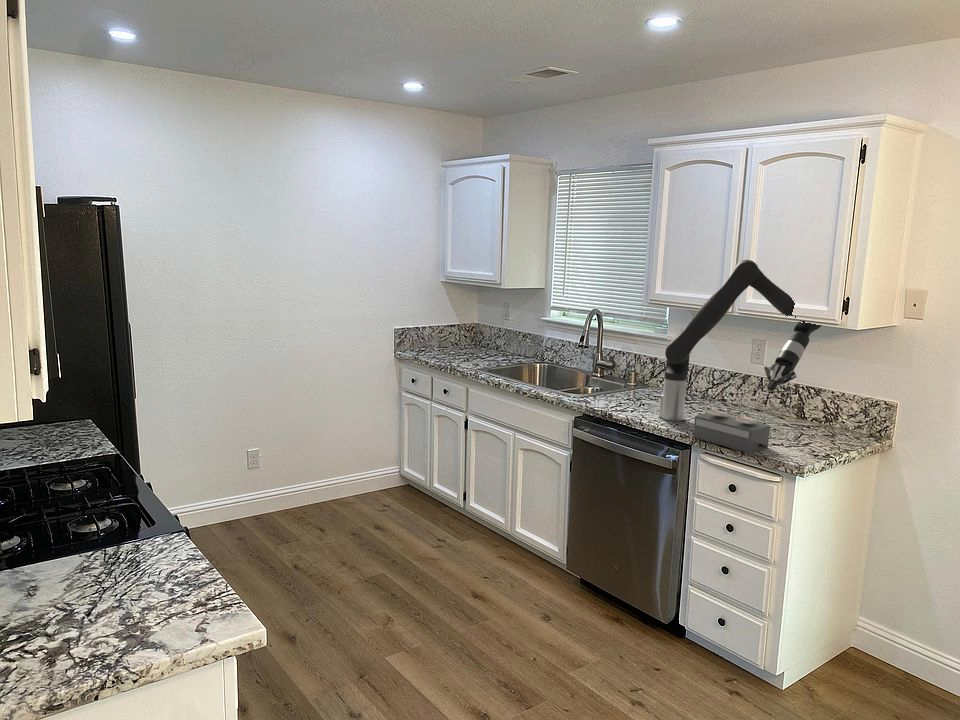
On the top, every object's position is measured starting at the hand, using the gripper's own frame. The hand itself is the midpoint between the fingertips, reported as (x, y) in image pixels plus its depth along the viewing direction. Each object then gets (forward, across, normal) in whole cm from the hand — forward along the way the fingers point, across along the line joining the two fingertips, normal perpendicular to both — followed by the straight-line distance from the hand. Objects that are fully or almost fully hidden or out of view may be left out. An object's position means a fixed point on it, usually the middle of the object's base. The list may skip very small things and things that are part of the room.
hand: (769, 389), depth 271 cm
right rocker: (+17, 0, -3) cm, 17 cm away
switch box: (+24, -5, +4) cm, 25 cm away
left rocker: (+17, -12, -3) cm, 21 cm away
